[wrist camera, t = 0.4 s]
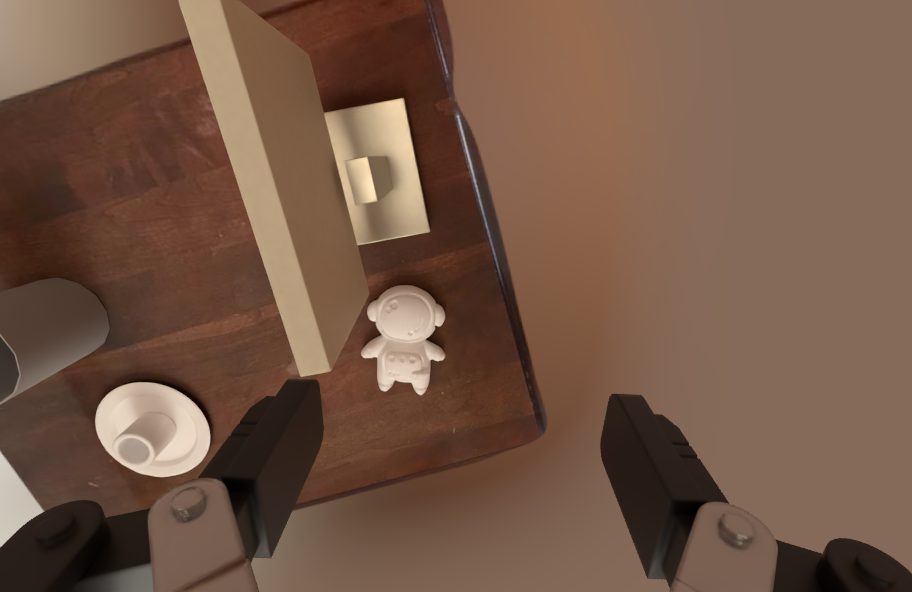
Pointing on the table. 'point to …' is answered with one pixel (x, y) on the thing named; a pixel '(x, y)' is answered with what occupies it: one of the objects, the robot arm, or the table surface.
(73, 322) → the cup
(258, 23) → the monitor screen
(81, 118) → the table surface
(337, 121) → the monitor stand
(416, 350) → the astronaut figurine
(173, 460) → the candle holder
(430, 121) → the table surface
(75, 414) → the table surface
